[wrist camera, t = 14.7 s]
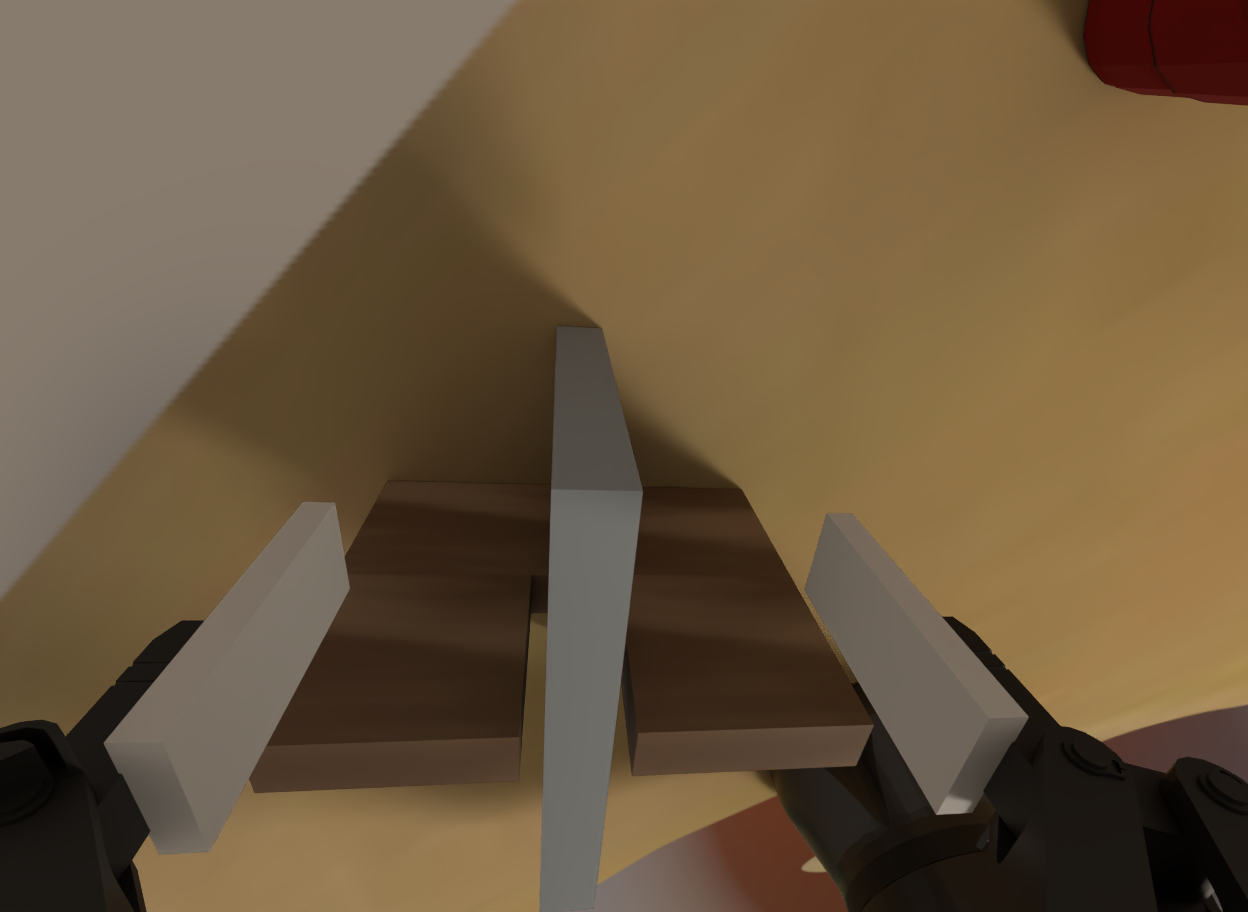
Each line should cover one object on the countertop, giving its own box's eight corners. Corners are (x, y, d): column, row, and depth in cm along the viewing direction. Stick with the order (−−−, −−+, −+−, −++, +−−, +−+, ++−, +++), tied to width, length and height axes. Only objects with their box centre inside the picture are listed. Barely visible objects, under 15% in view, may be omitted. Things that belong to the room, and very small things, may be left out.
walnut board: (734, 520, 30) (855, 765, 18) (391, 515, 28) (254, 793, 15) (741, 489, 29) (874, 724, 17) (387, 480, 27) (238, 747, 14)
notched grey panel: (582, 628, 33) (594, 908, 20) (548, 628, 32) (539, 912, 20) (602, 328, 24) (643, 491, 12) (556, 325, 24) (550, 489, 12)
